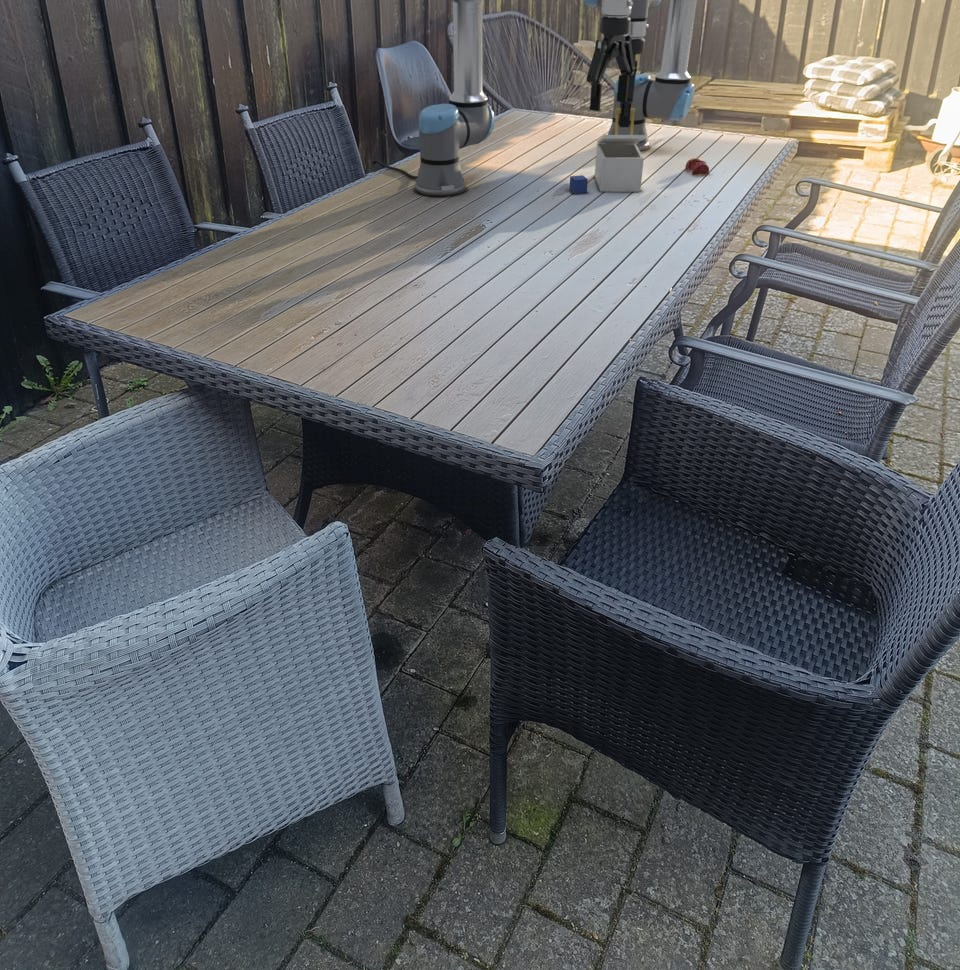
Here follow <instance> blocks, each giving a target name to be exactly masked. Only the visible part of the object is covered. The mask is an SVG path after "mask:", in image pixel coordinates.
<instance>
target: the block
mask: <svg viewBox="0 0 960 970" xmlns="http://www.w3.org/2000/svg"><path fill="white" fill-rule="evenodd" d="M588 180H589V179H588V178H587V177H585V175H583V174H581V175H571V176H569V185H568V186H569V189H568V190H569V192H571V193H572V194H573V195H578V194H579V195H580V194H587V193H588V184H589V183H588V182H589V181H588Z"/></svg>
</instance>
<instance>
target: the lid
mask: <svg viewBox="0 0 960 970" xmlns="http://www.w3.org/2000/svg"><path fill="white" fill-rule="evenodd" d="M634 113H635V108H631V110H630V114H631V131H630V135H617V134H618V114H621V108H616V109H615V114H616V121H615V135H608V134H604V135H602V136H601V137H600V138H598V139H597V141H596V145H597V144H636V143H638V142H640V141H642V140H644V139H646V135H633V124H634Z"/></svg>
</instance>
